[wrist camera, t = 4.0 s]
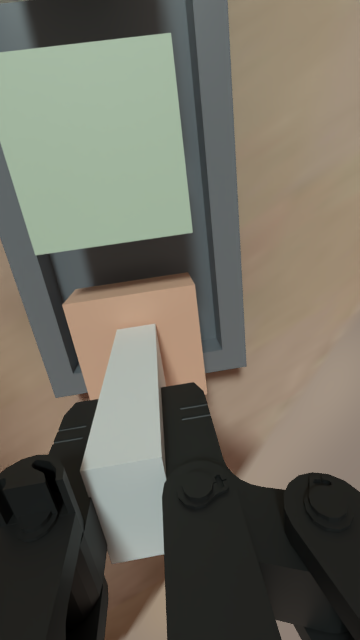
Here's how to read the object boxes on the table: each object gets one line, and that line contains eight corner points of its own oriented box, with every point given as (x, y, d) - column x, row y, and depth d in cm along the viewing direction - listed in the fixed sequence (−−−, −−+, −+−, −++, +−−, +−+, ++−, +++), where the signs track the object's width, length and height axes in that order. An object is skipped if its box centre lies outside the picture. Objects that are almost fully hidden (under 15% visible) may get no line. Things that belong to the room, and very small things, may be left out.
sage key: (28, 102, 11) (-27, 55, 7) (164, 85, 11) (171, 32, 8) (65, 241, 13) (35, 255, 9) (181, 225, 13) (192, 232, 9)
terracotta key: (82, 280, 14) (62, 304, 11) (184, 265, 15) (194, 284, 11) (105, 369, 16) (93, 413, 13) (195, 354, 17) (207, 393, 13)
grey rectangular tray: (-91, -131, 10) (-162, -230, 8) (199, -157, 10) (214, -258, 8) (68, 372, 18) (55, 397, 15) (233, 345, 18) (246, 366, 16)
